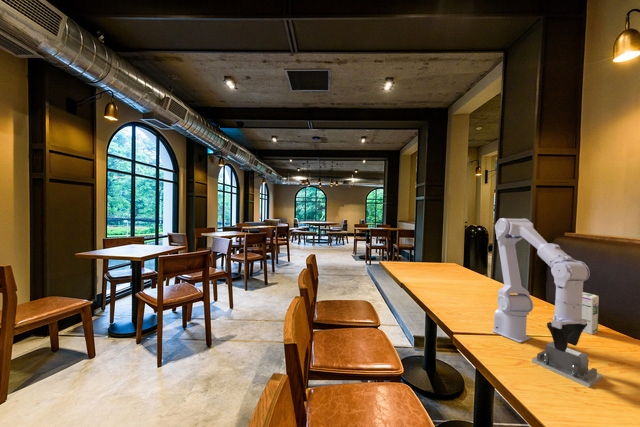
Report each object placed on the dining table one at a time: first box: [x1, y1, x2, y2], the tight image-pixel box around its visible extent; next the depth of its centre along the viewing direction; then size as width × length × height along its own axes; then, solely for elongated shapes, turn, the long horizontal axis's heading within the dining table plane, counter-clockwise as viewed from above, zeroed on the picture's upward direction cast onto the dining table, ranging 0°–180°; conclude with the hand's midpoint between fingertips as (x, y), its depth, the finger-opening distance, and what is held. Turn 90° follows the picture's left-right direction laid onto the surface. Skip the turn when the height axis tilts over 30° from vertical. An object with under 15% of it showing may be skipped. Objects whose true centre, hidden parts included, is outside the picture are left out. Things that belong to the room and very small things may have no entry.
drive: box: [545, 341, 588, 376], centre depth 77 cm, size 8×4×5 cm, turn 28°
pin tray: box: [531, 349, 603, 388], centre depth 77 cm, size 13×9×4 cm
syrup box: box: [582, 291, 600, 335], centre depth 104 cm, size 6×6×14 cm
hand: (565, 347), depth 77 cm, fingers open, 7 cm apart
